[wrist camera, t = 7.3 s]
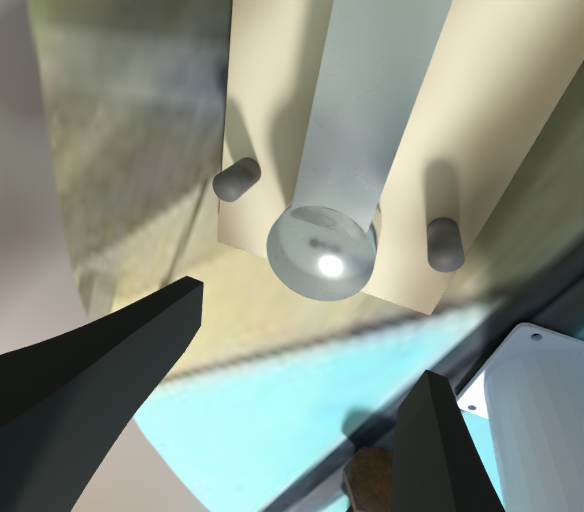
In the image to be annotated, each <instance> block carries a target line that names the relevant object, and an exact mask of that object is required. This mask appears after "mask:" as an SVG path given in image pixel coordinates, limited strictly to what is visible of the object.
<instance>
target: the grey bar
mask: <svg viewBox="0 0 584 512" xmlns="http://www.w3.org/2000/svg"><path fill="white" fill-rule="evenodd" d="M452 2H453V0H334V2H333V7H332V12H331V17H330V22H329V27H328V32H327V37H326V41H325V46H324V51H323V56H322V61H321V66H320V71H319V76H318V80H317V85H316V90H315V95H314V100H313V105H312V110H311V115H310V119H309V124H308V129H307V134H306V139H305V144H304V149H303V154H302V158H301V163H300V168H299V173H298V178H297V183H296V188H295V193H294V197H293V200H292V201H291V203H290V204H289V205H288V206H287V208H286V209H285V210H284V211H283V213H282V214H281V215H280V216H279V218H278V219H277V220H276V221H275V223H274V224H273V226H272V227H271V229H270V231H269V234H268V237H267V244H266V249H267V256H268V260H269V263H270V265H271V267H272V269H273V271H274V272H275V274H276V275H277V277H278V278H279V279H280V280H281V281H282V282H283V283H284V284H285V285H286V286H287V287H289V288H290V289H291V290H293V291H294V292H296V293H298V294H300V295H302V296H304V297H307V298H310V299H314V300H319V301H337V300H342V299H346V298H348V297H351V296H353V295H355V294H356V293H358V292H359V291H360V290H362V289H363V288H364V287H365V285H366V284H367V283H368V281H369V280H370V278H371V276H372V273H373V270H374V265H375V260H376V255H377V250H378V245H379V240H380V235H381V230H382V216H381V212H380V209H379V206H378V202H379V199H380V196H381V194H382V191H383V188H384V185H385V183H386V180H387V177H388V175H389V172H390V169H391V167H392V164H393V161H394V158H395V156H396V153H397V150H398V148H399V145H400V142H401V140H402V137H403V134H404V131H405V129H406V126H407V123H408V121H409V118H410V115H411V113H412V110H413V107H414V104H415V102H416V99H417V96H418V94H419V91H420V88H421V86H422V83H423V80H424V77H425V75H426V72H427V69H428V67H429V64H430V61H431V59H432V56H433V53H434V50H435V48H436V45H437V42H438V40H439V37H440V34H441V32H442V29H443V26H444V23H445V21H446V18H447V15H448V13H449V10H450V7H451V5H452Z"/></svg>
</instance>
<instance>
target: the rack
mask: <svg viewBox="0 0 584 512" xmlns="http://www.w3.org/2000/svg"><path fill="white" fill-rule="evenodd" d="M333 2H334V0H233V9H232V24H231V39H230V55H229V70H228V85H227V101H226V116H225V131H224V147H223V162H222V172H221V173H219V174H218V175H216V176H215V178H214V180H213V189H214V192H215V194H216V195H217V196H218V197H219V198H220V208H219V223H218V239H217V241H218V242H221V243H224V244H227V245H229V246H232V247H235V248H238V249H241V250H244V251H247V252H249V253H252V254H255V255H258V256H261V257H264V258H267V259H268V256H267V249H266V244H267V237H268V234H269V231H270V229H271V227H272V226H273V224H274V223H275V221H276V220H277V219H278V218H279V216H280V215H281V214H282V213H283V211H284V210H285V209H286V208H287V206H288V205H289V204H290V203H291V201H292V200H293V197H294V193H295V188H296V183H297V178H298V173H299V168H300V163H301V158H302V154H303V149H304V144H305V139H306V134H307V129H308V124H309V119H310V115H311V110H312V105H313V100H314V95H315V90H316V85H317V80H318V76H319V71H320V66H321V61H322V56H323V51H324V46H325V41H326V37H327V32H328V27H329V22H330V17H331V12H332V7H333ZM583 60H584V0H453V2H452V5H451V7H450V10H449V13H448V15H447V18H446V21H445V23H444V26H443V29H442V32H441V34H440V37H439V40H438V42H437V45H436V48H435V50H434V53H433V56H432V59H431V61H430V64H429V67H428V69H427V72H426V75H425V77H424V80H423V83H422V86H421V88H420V91H419V94H418V96H417V99H416V102H415V104H414V107H413V110H412V113H411V115H410V118H409V121H408V123H407V126H406V129H405V131H404V134H403V137H402V140H401V142H400V145H399V148H398V150H397V153H396V156H395V158H394V161H393V164H392V167H391V169H390V172H389V175H388V177H387V180H386V183H385V185H384V188H383V191H382V194H381V196H380V199H379V202H378V206H379V209H380V212H381V216H382V230H381V235H380V240H379V245H378V250H377V255H376V260H375V265H374V270H373V273H372V276H371V278H370V280H369V281H368V283H367V284H366V285H365V287H364V288H363V289H362V290H360V291H361V292H364V293H367V294H370V295H373V296H376V297H379V298H381V299H384V300H387V301H390V302H393V303H396V304H399V305H401V306H404V307H407V308H410V309H413V310H416V311H419V312H422V313H424V314H427V315H431V313H432V311H433V310H434V308H435V306H436V305H437V303H438V301H439V300H440V298H441V296H442V295H443V293H444V291H445V290H446V288H447V286H448V285H449V283H450V281H451V280H452V278H453V276H454V275H455V273H456V271H457V270H458V269H459V268H460V267H461V266H462V265H463V263H464V260H465V256H466V255H467V253H468V251H469V250H470V248H471V246H472V245H473V243H474V241H475V240H476V238H477V236H478V235H479V233H480V231H481V230H482V228H483V226H484V225H485V223H486V221H487V220H488V218H489V216H490V215H491V213H492V211H493V210H494V208H495V206H496V205H497V203H498V202H499V200H500V198H501V197H502V195H503V193H504V192H505V190H506V188H507V187H508V185H509V183H510V182H511V180H512V178H513V177H514V175H515V173H516V172H517V170H518V168H519V167H520V165H521V163H522V162H523V160H524V158H525V157H526V155H527V153H528V152H529V150H530V148H531V147H532V145H533V143H534V142H535V140H536V138H537V137H538V135H539V133H540V132H541V130H542V128H543V127H544V125H545V123H546V122H547V120H548V118H549V117H550V115H551V113H552V112H553V110H554V108H555V107H556V105H557V103H558V102H559V100H560V98H561V97H562V95H563V93H564V92H565V90H566V88H567V87H568V85H569V83H570V82H571V80H572V78H573V77H574V75H575V73H576V72H577V70H578V68H579V67H580V65H581V63H582V62H583Z"/></svg>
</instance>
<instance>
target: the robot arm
mask: <svg viewBox="0 0 584 512" xmlns="http://www.w3.org/2000/svg"><path fill="white" fill-rule="evenodd" d="M203 285H204V282H201V281H199V280H196V279H194V278H191V277H189V276H185V277H183V278H181V279H179V280H177V281H175V282H173V283H171V284H170V285H168V286H166V287H164V288H162V289H160V290H158V291H156V292H154V293H152V294H150V295H148V296H146V297H144V298H142V299H140V300H138V301H136V302H134V303H132V304H130V305H128V306H126V307H124V308H122V309H120V310H118V311H116V312H114V313H111V314H109V315H107V316H105V317H102V318H100V319H98V320H96V321H93V322H91V323H89V324H87V325H84V326H82V327H79V328H77V329H74V330H72V331H69V332H67V333H64V334H62V335H59V336H56V337H54V338H51V339H48V340H46V341H43V342H40V343H37V344H34V345H31V346H28V347H24V348H21V349H18V350H15V351H11V352H8V353H5V354H2V355H0V512H70V511H71V510H72V508H73V506H74V505H75V503H76V502H77V500H78V498H79V497H80V495H81V494H82V492H83V490H84V489H85V487H86V485H87V484H88V482H89V481H90V479H91V478H92V476H93V474H94V473H95V472H96V470H97V468H98V467H99V465H100V464H101V462H102V461H103V459H104V458H105V456H106V454H107V453H108V451H109V450H110V448H111V447H112V445H113V444H114V442H115V441H116V440H117V438H118V436H119V435H120V434H121V432H122V431H123V429H124V428H125V426H126V425H127V423H128V422H129V420H130V419H131V418H132V417H133V415H134V414H135V413H136V411H137V410H138V409H139V407H140V406H141V405H142V404H143V403H144V401H145V400H146V399H147V398H148V396H149V395H150V394H151V393H152V392H153V390H154V389H155V388H156V387H157V385H158V384H159V383H160V382H161V380H162V379H163V378H164V377H165V376H166V374H167V373H168V372H169V371H170V369H171V368H172V367H173V366H174V364H175V363H176V362H177V361H178V359H179V358H180V357H181V356H182V354H183V353H184V352H185V350H186V349H187V347H188V346H189V344H190V342H191V341H192V339H193V338H194V336H195V334H196V333H197V331H198V330H199V328H200V326H201V316H202V301H203ZM533 334H539V335H537V336H532V335H533ZM459 408H461V409H464V410H466V411H469V412H471V413H474V414H477V415H479V416H482V417H484V418H487V419H488V420H489V426H490V431H491V437H492V442H493V448H494V453H495V459H496V464H497V470H498V475H499V481H500V486H501V492H502V497H503V503H504V508H505V510H504V508H503V506H502V503H501V501H500V499H499V497H498V495H497V493H496V491H495V489H494V487H493V485H492V483H491V481H490V479H489V476H488V474H487V472H486V470H485V468H484V465H483V463H482V461H481V459H480V456H479V454H478V452H477V450H476V447H475V445H474V443H473V440H472V438H471V436H470V433H469V431H468V428H467V426H466V424H465V421H464V419H463V416H462V414H461V411H460V409H459ZM391 512H584V341H581V340H579V339H576V338H573V337H570V336H567V335H564V334H561V333H558V332H555V331H552V330H549V329H546V328H543V327H540V326H537V325H534V324H531V323H520V324H518V325H517V326H515V328H514V329H513V330H512V331H511V332H510V334H509V335H508V336H507V337H506V338H505V340H504V341H503V342H502V343H501V344H500V346H499V347H498V348H497V349H496V350H495V352H494V353H493V354H492V355H491V356H490V358H489V359H488V360H487V361H486V362H485V364H484V365H483V366H482V367H481V368H480V370H479V371H478V372H477V373H476V374H475V376H474V377H473V378H472V379H471V380H470V382H469V383H468V384H467V385H466V386H465V388H464V389H463V390H462V391H461V392H460V393H459V395H458V396H457V397H456V399H455V396H454V393H453V391H452V388H451V386H450V383H449V381H448V379H447V378H446V377H444V376H441V375H439V374H436V373H434V372H431V371H429V370H425V372H424V373H423V374H422V376H421V377H420V379H419V380H418V381H417V383H416V384H415V385H414V387H413V388H412V390H411V391H410V392H409V394H408V395H407V397H406V398H405V399H404V401H403V402H402V404H401V405H400V406H399V409H398V415H397V421H396V427H395V434H394V441H393V463H392V492H391Z"/></svg>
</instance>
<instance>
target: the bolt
mask: <svg viewBox="0 0 584 512" xmlns="http://www.w3.org/2000/svg"><path fill="white" fill-rule="evenodd" d="M392 463H393V452H391V451H388V450H384V449H381V448H378V447H374V446H362V447H361V448H360V449H359V450H358V451H357V452H356V453H355V454H354V456H353V457H352V458H351V459H350V460H349V462H348V463H347V464H346V466H345V467H344V469H343V475H342V476H343V479H344V482H345V485H346V488H347V491H348V495H349V498H350V501H351V504H352V505H351V506H350V507H349V508H348V510H347V511H346V512H391V492H392Z"/></svg>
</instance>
